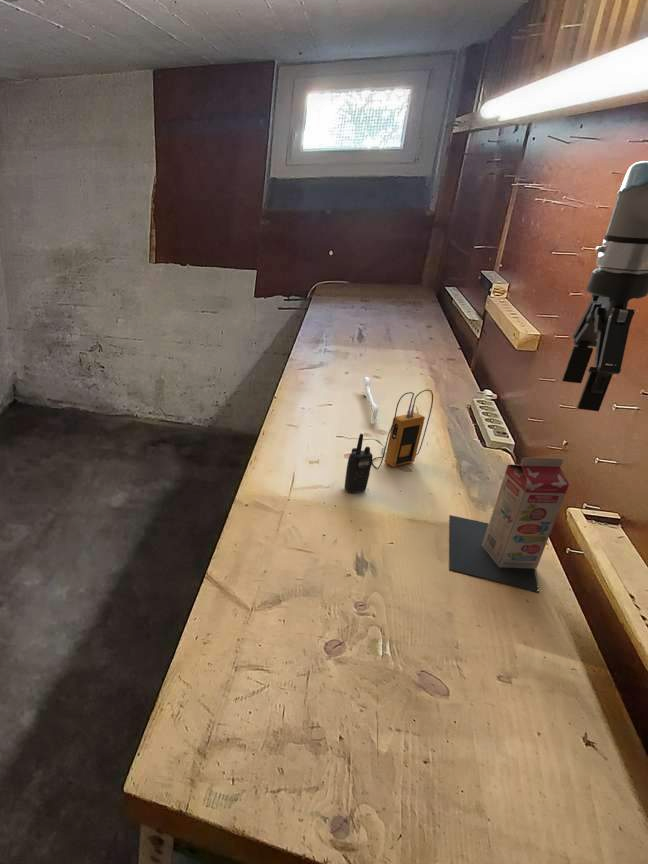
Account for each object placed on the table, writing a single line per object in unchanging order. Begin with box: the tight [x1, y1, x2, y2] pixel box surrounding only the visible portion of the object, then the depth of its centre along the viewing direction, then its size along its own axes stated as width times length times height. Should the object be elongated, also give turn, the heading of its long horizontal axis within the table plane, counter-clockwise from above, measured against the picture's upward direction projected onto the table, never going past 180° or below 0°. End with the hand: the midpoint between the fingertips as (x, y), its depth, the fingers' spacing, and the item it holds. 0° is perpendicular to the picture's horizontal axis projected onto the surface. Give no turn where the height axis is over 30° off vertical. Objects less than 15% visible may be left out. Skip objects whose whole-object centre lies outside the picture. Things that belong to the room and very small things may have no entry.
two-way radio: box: [344, 433, 374, 493], centre depth 130 cm, size 6×4×15 cm
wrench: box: [362, 377, 379, 425], centre depth 172 cm, size 28×2×6 cm, turn 164°
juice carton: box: [482, 457, 570, 570], centre depth 104 cm, size 7×7×22 cm
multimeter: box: [371, 389, 434, 470], centre depth 142 cm, size 15×10×20 cm
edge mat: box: [448, 514, 540, 593], centre depth 111 cm, size 14×20×1 cm
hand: (578, 394), depth 97 cm, fingers open, 13 cm apart
